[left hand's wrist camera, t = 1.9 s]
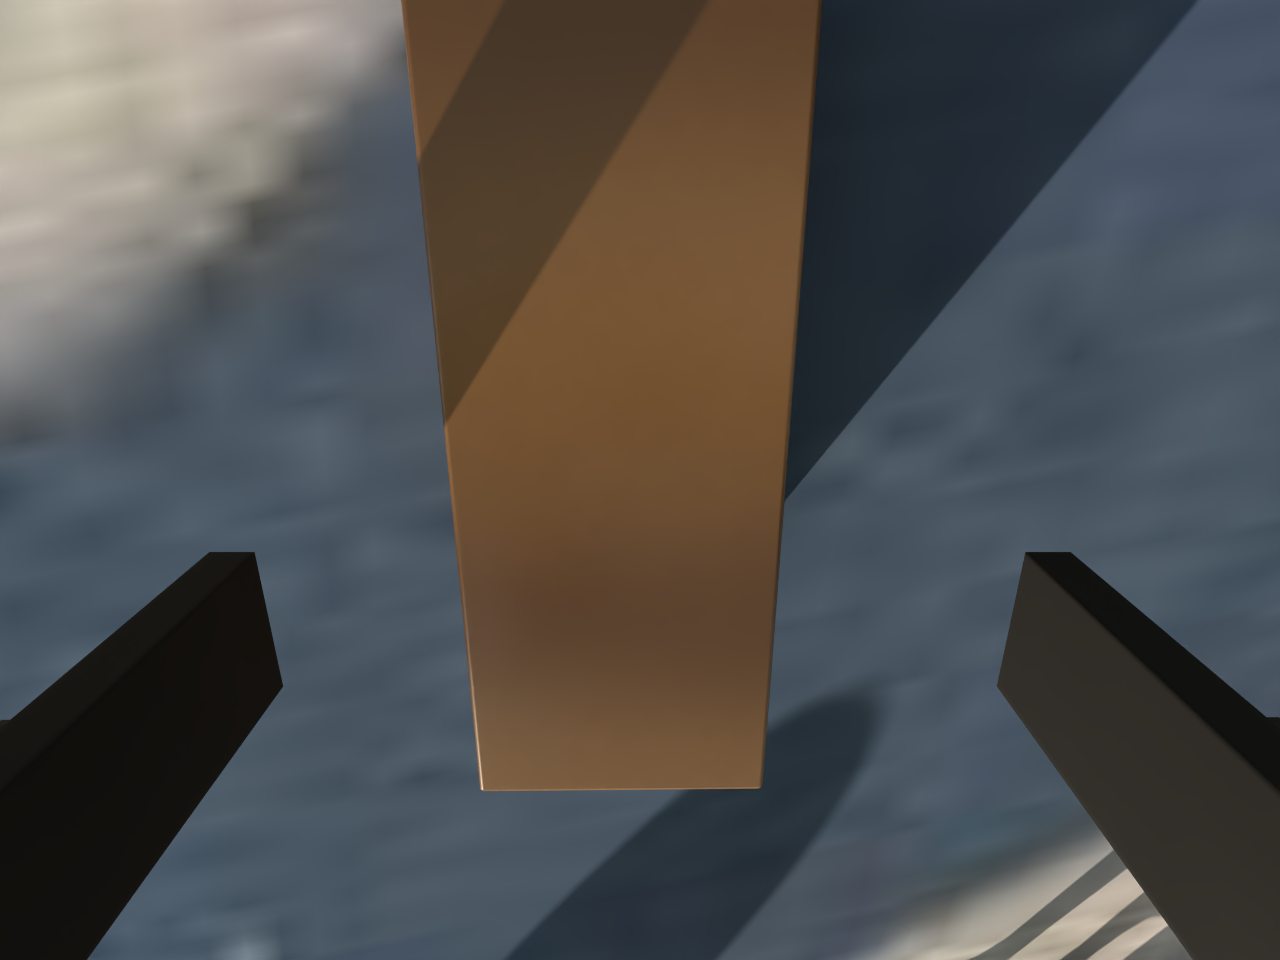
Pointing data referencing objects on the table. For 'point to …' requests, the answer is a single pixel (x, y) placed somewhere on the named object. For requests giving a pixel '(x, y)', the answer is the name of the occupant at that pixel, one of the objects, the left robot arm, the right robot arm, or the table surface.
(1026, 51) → the table surface
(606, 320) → the bar
